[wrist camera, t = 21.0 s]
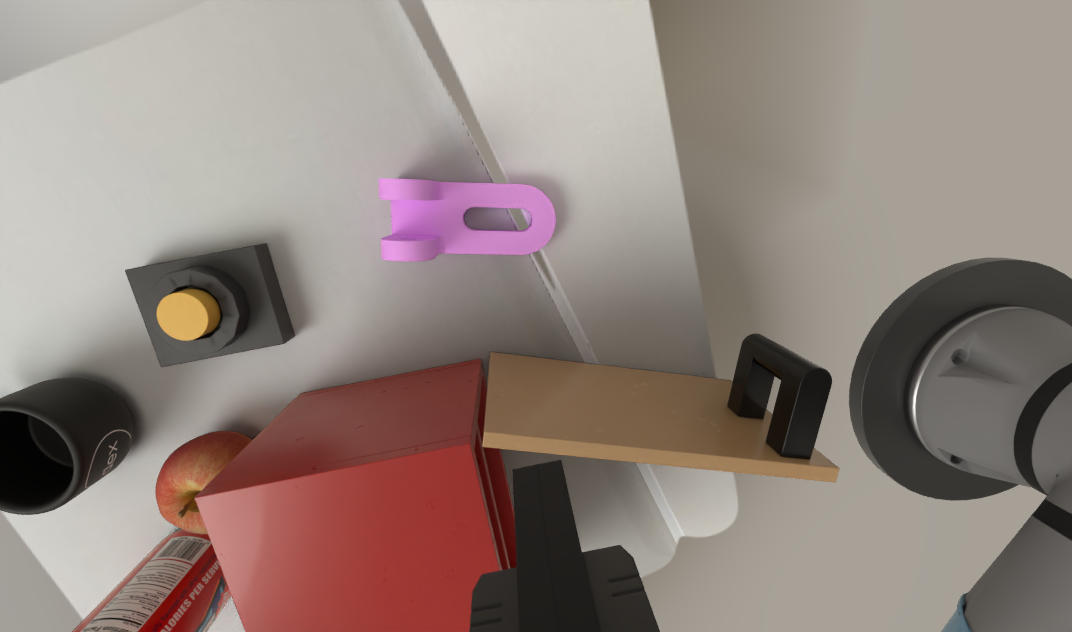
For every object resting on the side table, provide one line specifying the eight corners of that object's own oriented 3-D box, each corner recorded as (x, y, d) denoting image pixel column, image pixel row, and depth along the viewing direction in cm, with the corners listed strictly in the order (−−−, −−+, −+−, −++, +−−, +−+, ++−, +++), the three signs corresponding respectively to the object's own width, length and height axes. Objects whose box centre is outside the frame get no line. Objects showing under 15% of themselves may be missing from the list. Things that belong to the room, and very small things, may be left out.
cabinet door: (499, 284, 44) (497, 331, 29) (745, 316, 46) (867, 376, 31) (488, 362, 45) (482, 447, 30) (728, 390, 47) (835, 482, 32)
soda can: (220, 508, 47) (92, 650, 32) (264, 575, 49) (162, 738, 34) (142, 541, 47) (-19, 696, 33) (189, 606, 49) (56, 781, 34)
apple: (218, 512, 47) (162, 574, 39) (173, 437, 45) (105, 487, 37) (300, 481, 47) (260, 538, 39) (258, 405, 45) (207, 449, 37)
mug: (158, 392, 44) (93, 428, 37) (132, 481, 46) (66, 532, 39) (8, 341, 42) (-89, 370, 35) (-13, 436, 44) (-109, 481, 37)
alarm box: (266, 243, 42) (242, 248, 38) (295, 336, 44) (274, 350, 40) (143, 266, 42) (106, 273, 38) (177, 359, 44) (145, 374, 40)
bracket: (396, 250, 43) (376, 260, 36) (393, 180, 41) (372, 177, 35) (552, 253, 44) (561, 264, 37) (555, 185, 42) (565, 184, 36)
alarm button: (212, 284, 39) (198, 288, 37) (227, 329, 40) (215, 335, 38) (164, 293, 39) (149, 297, 37) (180, 338, 40) (166, 345, 38)
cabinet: (481, 358, 45) (470, 443, 30) (527, 569, 50) (538, 735, 35) (300, 393, 45) (193, 497, 29) (364, 602, 50) (303, 785, 35)
